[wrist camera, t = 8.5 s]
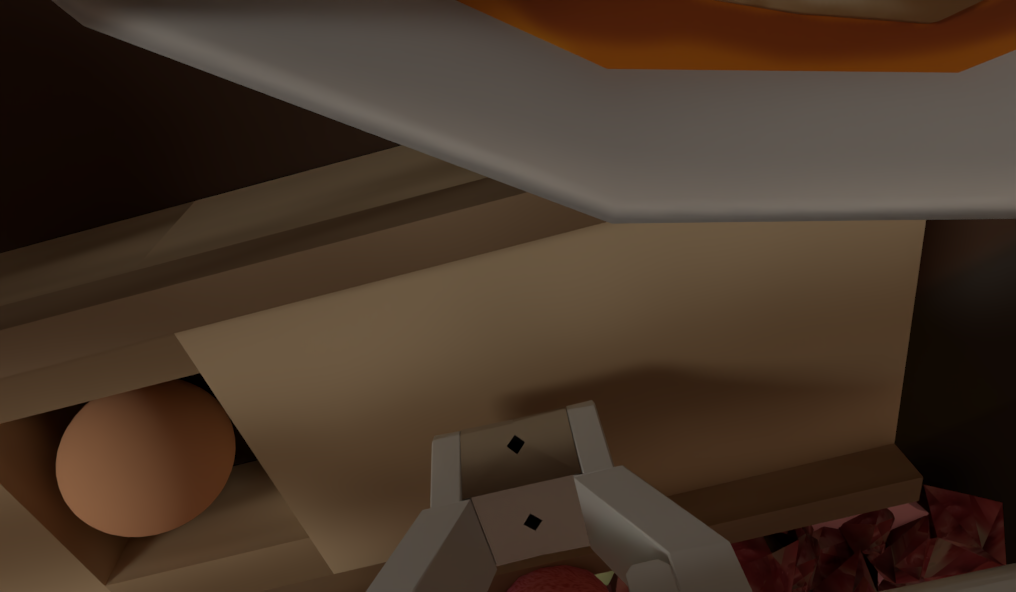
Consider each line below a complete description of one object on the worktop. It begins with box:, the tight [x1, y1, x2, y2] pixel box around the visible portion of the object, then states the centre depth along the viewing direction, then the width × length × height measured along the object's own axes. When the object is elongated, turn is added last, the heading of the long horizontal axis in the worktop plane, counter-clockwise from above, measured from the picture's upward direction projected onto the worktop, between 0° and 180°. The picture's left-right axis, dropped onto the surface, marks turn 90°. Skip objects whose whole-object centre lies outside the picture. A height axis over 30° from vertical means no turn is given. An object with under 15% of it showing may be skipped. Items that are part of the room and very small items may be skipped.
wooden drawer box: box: [0, 145, 926, 592], centre depth 13 cm, size 10×21×4 cm, turn 104°
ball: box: [56, 379, 236, 537], centre depth 14 cm, size 4×4×4 cm
